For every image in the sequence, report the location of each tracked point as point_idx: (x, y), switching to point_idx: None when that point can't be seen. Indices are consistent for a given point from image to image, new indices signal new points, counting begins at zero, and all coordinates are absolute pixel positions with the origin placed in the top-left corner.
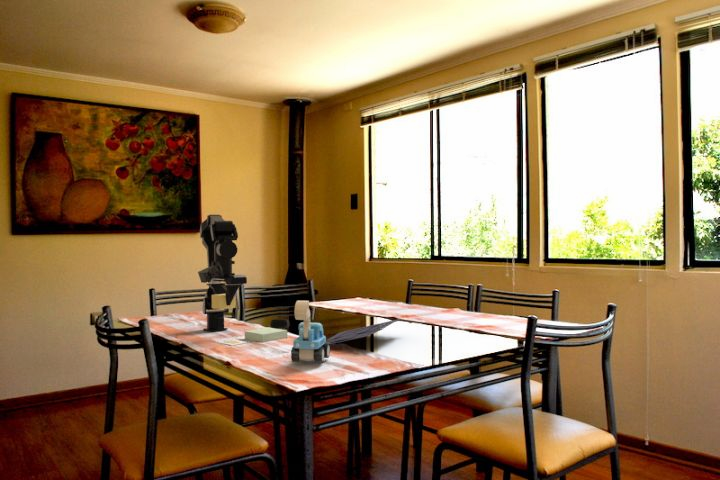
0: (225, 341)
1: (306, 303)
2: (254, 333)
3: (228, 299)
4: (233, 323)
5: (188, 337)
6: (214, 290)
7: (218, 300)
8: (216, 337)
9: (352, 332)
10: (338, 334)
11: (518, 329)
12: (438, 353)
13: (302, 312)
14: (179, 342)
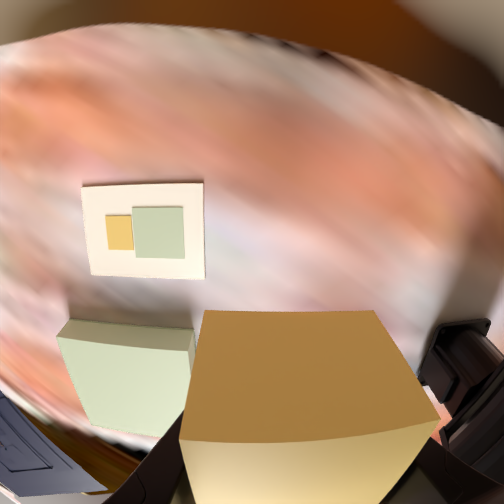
0: (176, 217)
1: None
2: (112, 343)
3: (161, 447)
4: None
5: (453, 193)
6: (456, 492)
7: (238, 381)
8: (344, 273)
9: (2, 439)
10: (57, 456)
11: (13, 501)
12: None
13: None
14: (383, 77)
